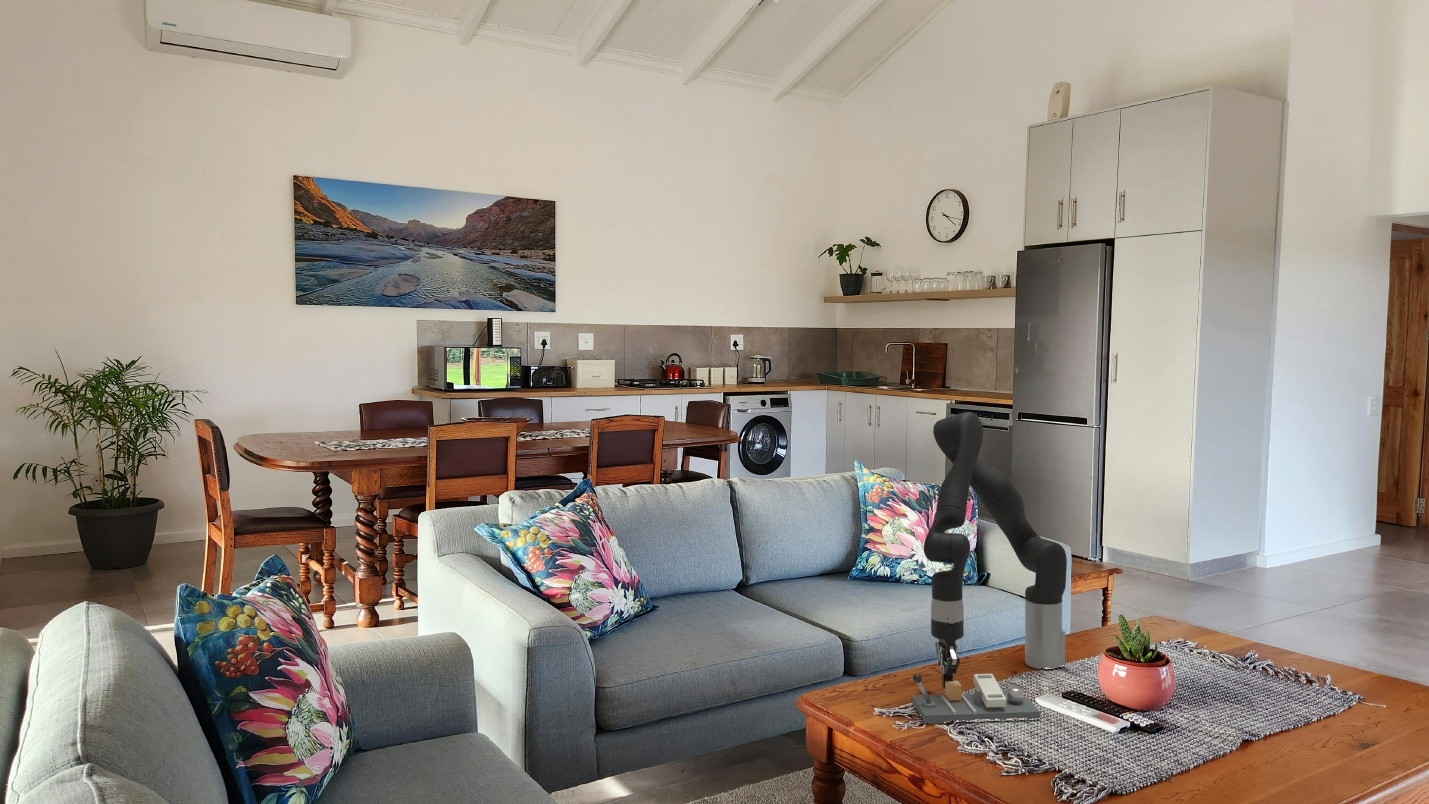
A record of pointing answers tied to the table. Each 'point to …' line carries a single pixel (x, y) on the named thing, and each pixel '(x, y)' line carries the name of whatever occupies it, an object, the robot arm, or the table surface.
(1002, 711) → the panel
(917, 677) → the toggle
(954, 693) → the slider
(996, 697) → the block
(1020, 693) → the button
